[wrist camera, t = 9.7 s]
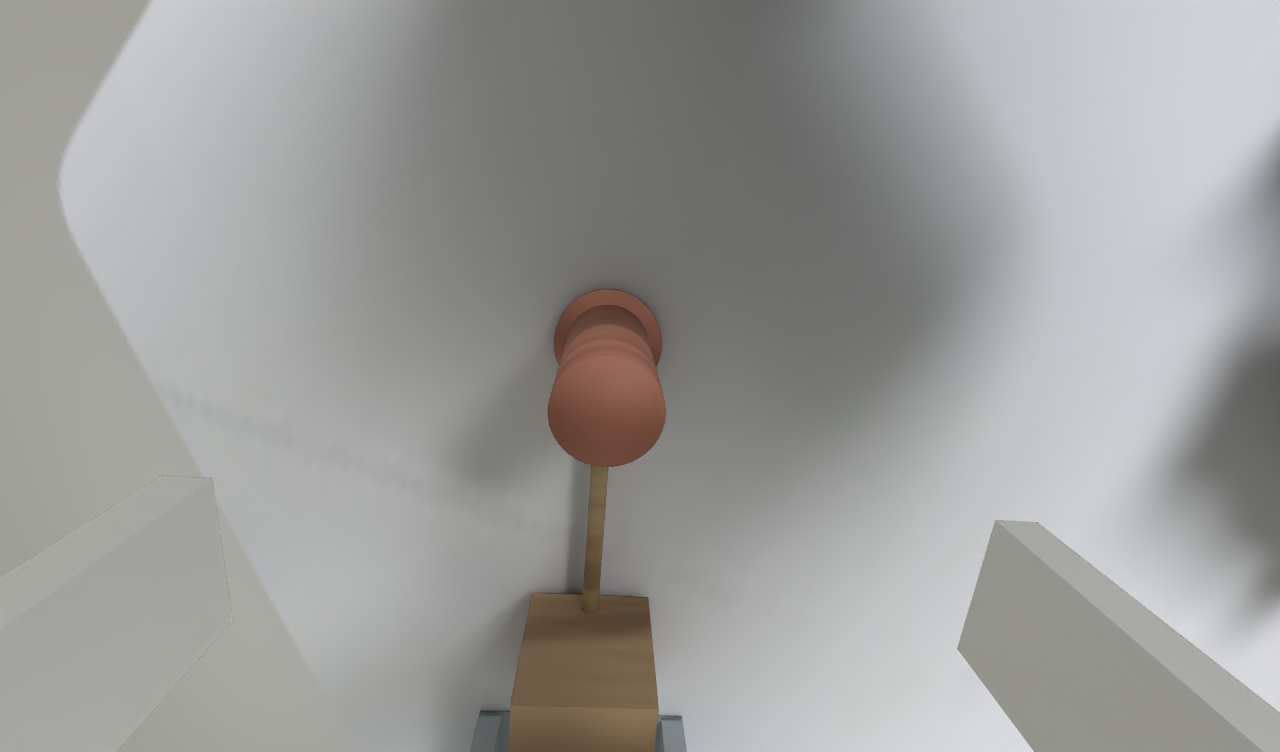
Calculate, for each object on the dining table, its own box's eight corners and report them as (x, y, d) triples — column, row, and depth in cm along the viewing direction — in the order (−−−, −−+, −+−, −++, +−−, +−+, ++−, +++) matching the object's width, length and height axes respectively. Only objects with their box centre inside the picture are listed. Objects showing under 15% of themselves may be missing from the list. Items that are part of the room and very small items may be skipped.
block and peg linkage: (543, 283, 26) (509, 330, 17) (678, 294, 26) (713, 344, 18) (529, 683, 32) (499, 866, 23) (638, 686, 33) (649, 867, 24)
